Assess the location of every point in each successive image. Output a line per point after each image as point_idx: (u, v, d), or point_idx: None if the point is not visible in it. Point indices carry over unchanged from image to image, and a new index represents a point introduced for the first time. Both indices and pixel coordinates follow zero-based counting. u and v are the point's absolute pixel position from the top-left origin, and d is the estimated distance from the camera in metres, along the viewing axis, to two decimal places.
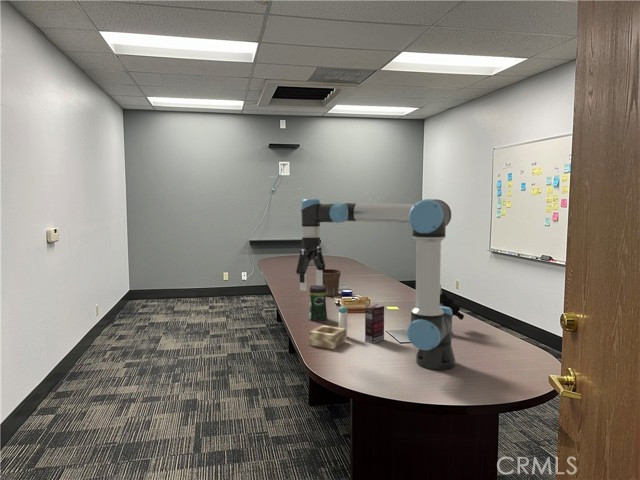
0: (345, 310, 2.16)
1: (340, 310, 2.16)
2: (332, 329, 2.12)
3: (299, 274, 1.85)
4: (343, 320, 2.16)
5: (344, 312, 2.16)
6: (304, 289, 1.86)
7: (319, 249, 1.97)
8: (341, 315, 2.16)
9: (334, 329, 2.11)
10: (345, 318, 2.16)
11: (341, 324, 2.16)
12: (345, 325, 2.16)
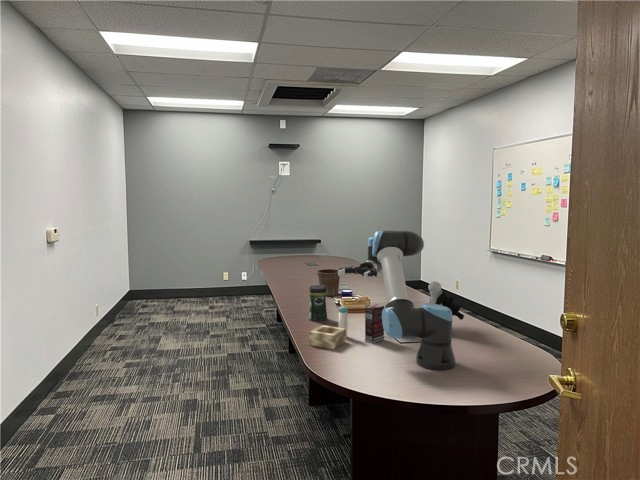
0: (345, 310, 2.16)
1: (340, 310, 2.16)
2: (332, 329, 2.12)
3: None
4: (343, 320, 2.16)
5: (344, 312, 2.16)
6: None
7: None
8: (341, 315, 2.16)
9: (334, 329, 2.11)
10: (345, 318, 2.16)
11: (341, 324, 2.16)
12: (345, 325, 2.16)
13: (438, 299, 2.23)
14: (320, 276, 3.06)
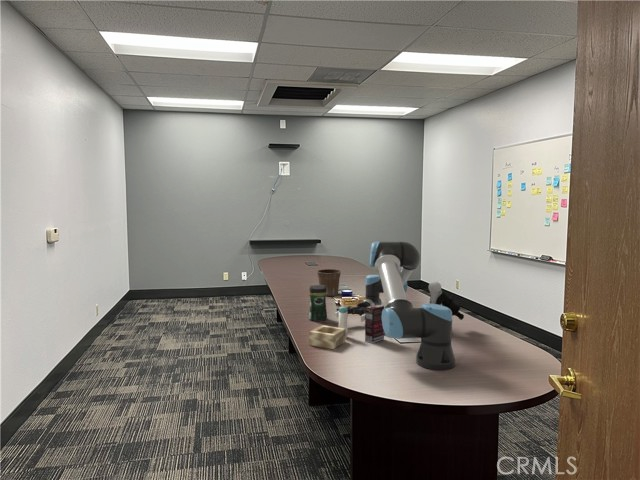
0: (345, 310, 2.16)
1: (340, 310, 2.16)
2: (332, 329, 2.12)
3: None
4: (344, 320, 2.16)
5: (344, 312, 2.16)
6: None
7: None
8: (341, 315, 2.16)
9: (334, 329, 2.11)
10: (345, 318, 2.16)
11: (341, 324, 2.16)
12: (345, 325, 2.16)
13: (438, 299, 2.23)
14: (320, 276, 3.06)
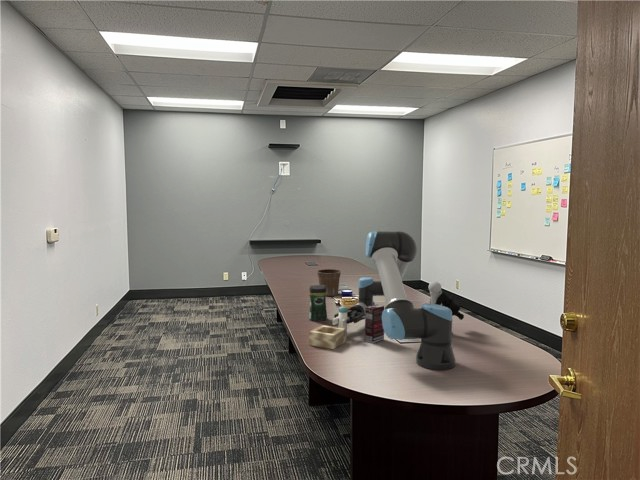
0: (345, 310, 2.16)
1: (340, 310, 2.16)
2: (332, 329, 2.12)
3: None
4: None
5: (344, 312, 2.16)
6: None
7: None
8: (341, 315, 2.16)
9: (334, 329, 2.11)
10: (345, 318, 2.16)
11: (341, 324, 2.16)
12: (345, 325, 2.16)
13: (438, 299, 2.23)
14: (320, 276, 3.06)
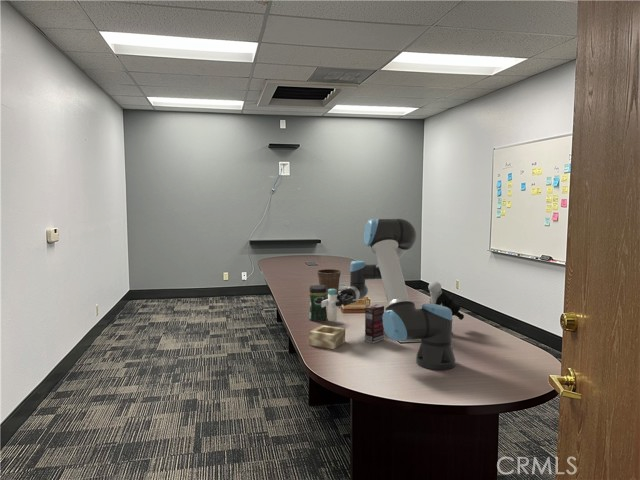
0: (334, 292, 2.09)
1: (329, 292, 2.09)
2: (332, 329, 2.12)
3: None
4: None
5: (333, 294, 2.09)
6: None
7: None
8: (330, 297, 2.09)
9: (334, 329, 2.11)
10: (334, 300, 2.09)
11: (330, 306, 2.09)
12: (334, 308, 2.10)
13: (438, 299, 2.23)
14: (320, 276, 3.06)
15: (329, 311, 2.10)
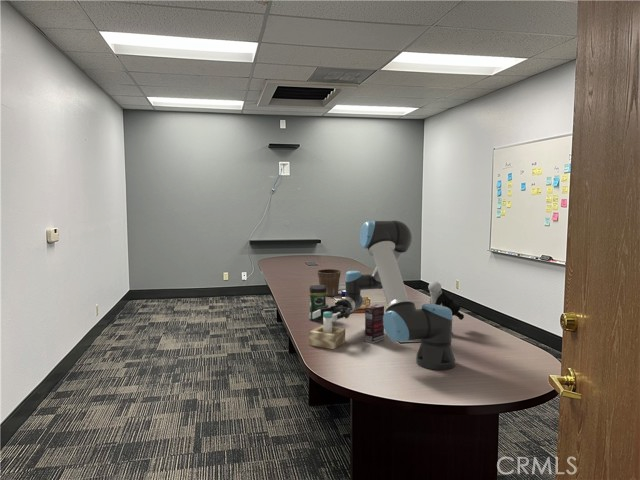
0: (330, 315, 2.06)
1: (325, 315, 2.06)
2: (332, 329, 2.12)
3: None
4: (328, 325, 2.06)
5: (329, 317, 2.06)
6: None
7: None
8: (326, 320, 2.06)
9: (334, 329, 2.11)
10: (330, 324, 2.07)
11: (325, 329, 2.07)
12: (330, 331, 2.07)
13: (438, 299, 2.23)
14: (320, 276, 3.06)
15: None
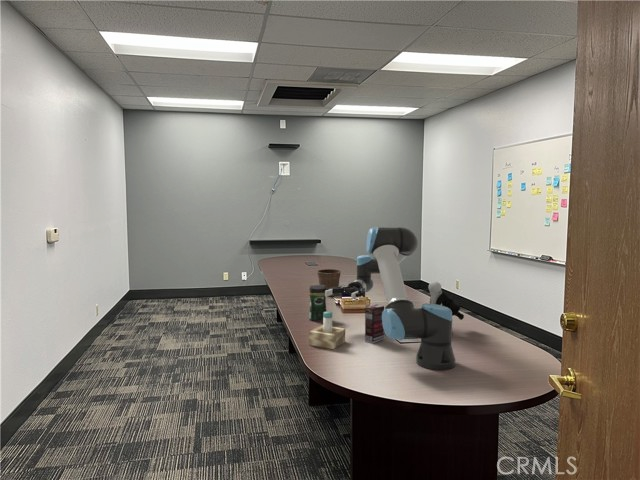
0: (330, 315, 2.06)
1: (325, 315, 2.06)
2: (332, 329, 2.12)
3: None
4: (328, 325, 2.06)
5: (329, 317, 2.06)
6: None
7: None
8: (326, 320, 2.06)
9: (334, 329, 2.11)
10: (330, 324, 2.07)
11: (325, 329, 2.07)
12: (330, 331, 2.07)
13: (438, 299, 2.23)
14: (320, 276, 3.06)
15: None
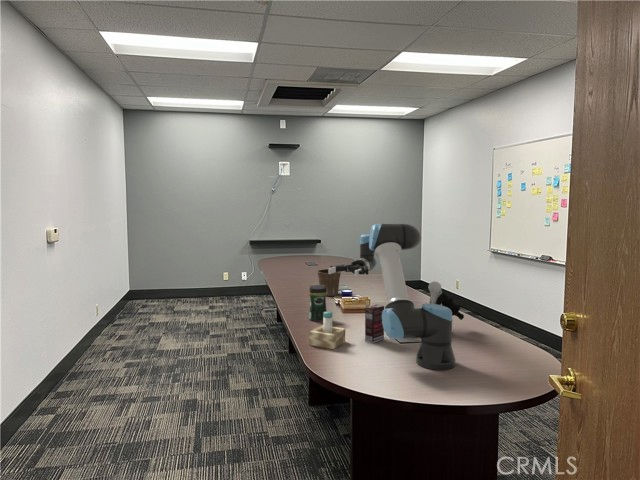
0: (330, 315, 2.06)
1: (325, 315, 2.06)
2: (332, 329, 2.12)
3: None
4: (328, 325, 2.06)
5: (329, 317, 2.06)
6: None
7: None
8: (326, 320, 2.06)
9: (334, 329, 2.11)
10: (330, 324, 2.07)
11: (325, 329, 2.07)
12: (330, 331, 2.07)
13: (438, 299, 2.23)
14: (320, 276, 3.06)
15: None
